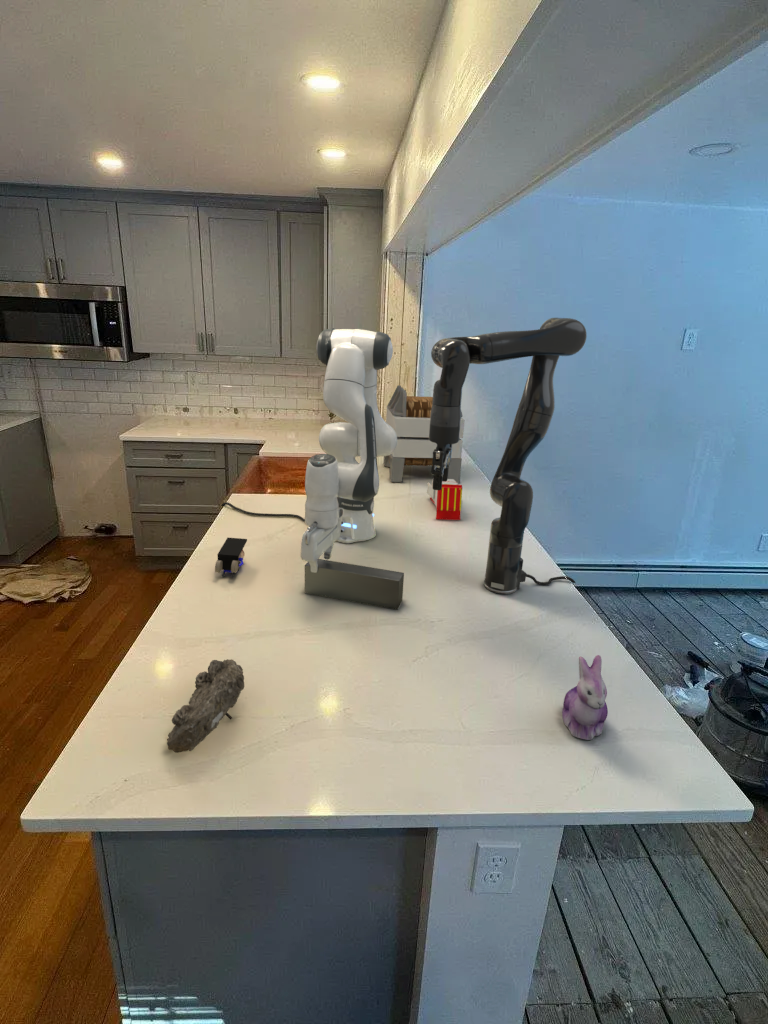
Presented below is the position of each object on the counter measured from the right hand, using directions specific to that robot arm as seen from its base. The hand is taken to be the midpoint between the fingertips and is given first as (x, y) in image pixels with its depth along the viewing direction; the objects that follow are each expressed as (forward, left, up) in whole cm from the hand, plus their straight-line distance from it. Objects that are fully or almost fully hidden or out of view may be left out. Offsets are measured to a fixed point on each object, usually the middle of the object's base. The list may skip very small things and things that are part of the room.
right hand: (440, 485), depth 146 cm
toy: (-36, -67, -32) cm, 82 cm away
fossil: (+61, +33, -32) cm, 76 cm away
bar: (+21, -6, -32) cm, 39 cm away
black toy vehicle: (+50, -31, -32) cm, 68 cm away
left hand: (+29, -11, -24) cm, 39 cm away
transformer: (-47, -116, -32) cm, 129 cm away
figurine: (-7, +56, -32) cm, 65 cm away
